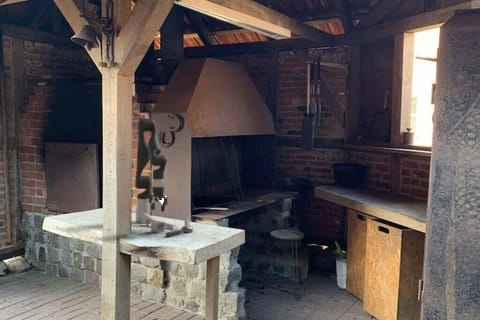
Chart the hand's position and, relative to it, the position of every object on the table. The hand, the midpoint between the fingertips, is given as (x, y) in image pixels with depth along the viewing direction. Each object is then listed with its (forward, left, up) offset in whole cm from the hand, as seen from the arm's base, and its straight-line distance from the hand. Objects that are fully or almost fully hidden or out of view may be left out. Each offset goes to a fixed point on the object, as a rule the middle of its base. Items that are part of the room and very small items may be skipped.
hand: (157, 210), depth 287 cm
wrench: (-10, +11, -15) cm, 21 cm away
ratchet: (+14, +6, -14) cm, 21 cm away
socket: (0, 0, -14) cm, 14 cm away
